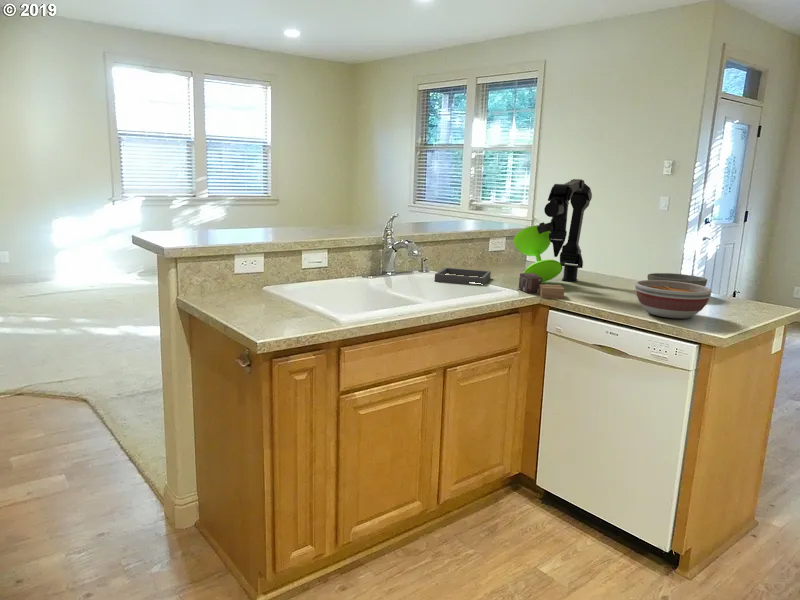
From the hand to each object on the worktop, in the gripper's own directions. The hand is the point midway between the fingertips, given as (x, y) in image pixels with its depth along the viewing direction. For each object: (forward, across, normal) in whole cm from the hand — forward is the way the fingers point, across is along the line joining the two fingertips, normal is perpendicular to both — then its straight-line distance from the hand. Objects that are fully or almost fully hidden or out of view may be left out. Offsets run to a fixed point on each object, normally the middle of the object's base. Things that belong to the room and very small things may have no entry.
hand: (556, 255), depth 242 cm
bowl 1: (+13, -5, +46) cm, 48 cm away
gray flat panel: (+13, +8, -6) cm, 16 cm away
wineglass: (+8, -3, -5) cm, 9 cm away
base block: (+13, +20, 0) cm, 24 cm away
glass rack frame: (+13, 0, -37) cm, 39 cm away
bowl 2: (+13, +36, +39) cm, 55 cm away
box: (+9, +11, -10) cm, 17 cm away
